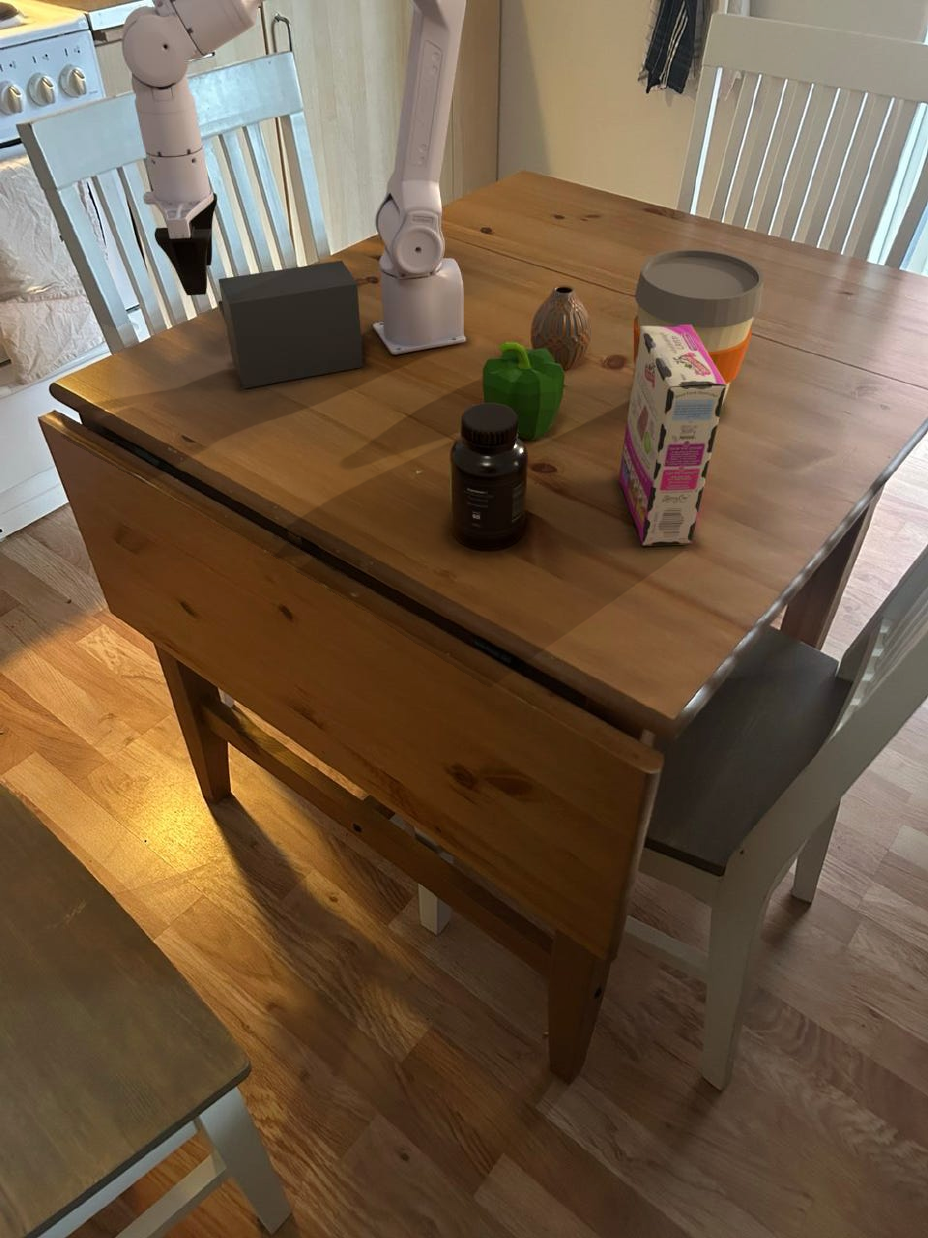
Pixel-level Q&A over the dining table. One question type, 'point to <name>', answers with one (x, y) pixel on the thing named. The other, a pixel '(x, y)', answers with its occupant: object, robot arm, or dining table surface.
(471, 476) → the supplement bottle
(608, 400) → the dining table surface
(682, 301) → the reusable coffee cup
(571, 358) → the vase
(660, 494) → the candy bar box
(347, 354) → the grey tool caddy
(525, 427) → the bell pepper
